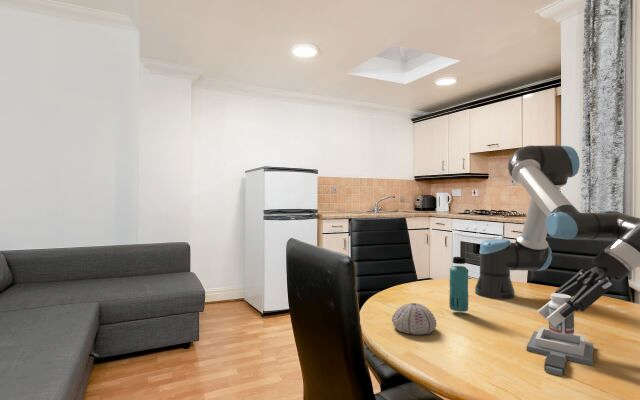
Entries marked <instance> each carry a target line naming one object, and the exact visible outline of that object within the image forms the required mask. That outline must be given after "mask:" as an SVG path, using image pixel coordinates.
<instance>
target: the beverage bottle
mask: <svg viewBox="0 0 640 400" xmlns="http://www.w3.org/2000/svg"><path fill="white" fill-rule="evenodd" d="M452 263H453V264H457V265H452V266H451V267H450V268H449V281H448V283H449V286H448V287H449V293H448V294H449V302H448V304H449V305H448V307H449V309H450V310H451V311H455V312H462V313H463V312H468V311H469V296H470V295H469V269H468V268H467V267H466V266H463V265H465V264H466V258H465V257H463V256H453V257H452Z"/></svg>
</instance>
